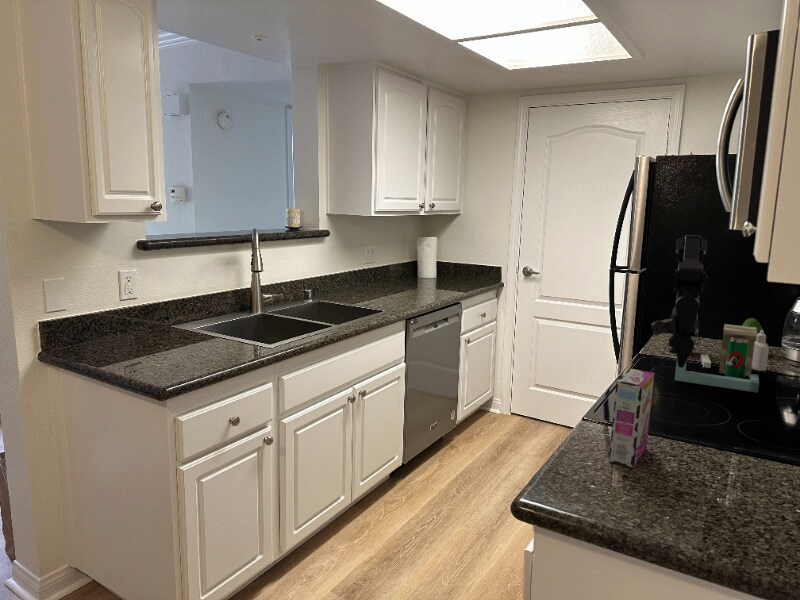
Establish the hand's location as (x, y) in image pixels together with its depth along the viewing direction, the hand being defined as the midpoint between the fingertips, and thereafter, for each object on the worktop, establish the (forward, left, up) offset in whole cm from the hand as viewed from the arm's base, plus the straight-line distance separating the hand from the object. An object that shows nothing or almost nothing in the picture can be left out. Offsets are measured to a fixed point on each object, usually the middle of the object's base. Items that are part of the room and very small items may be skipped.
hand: (681, 366), depth 164 cm
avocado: (-45, +17, -4) cm, 48 cm away
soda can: (-10, +13, -4) cm, 17 cm away
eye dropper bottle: (-25, +19, -4) cm, 32 cm away
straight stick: (-23, +5, -4) cm, 24 cm away
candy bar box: (+60, -5, -4) cm, 61 cm away
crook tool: (-3, +9, -4) cm, 10 cm away
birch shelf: (-11, +13, -4) cm, 18 cm away
